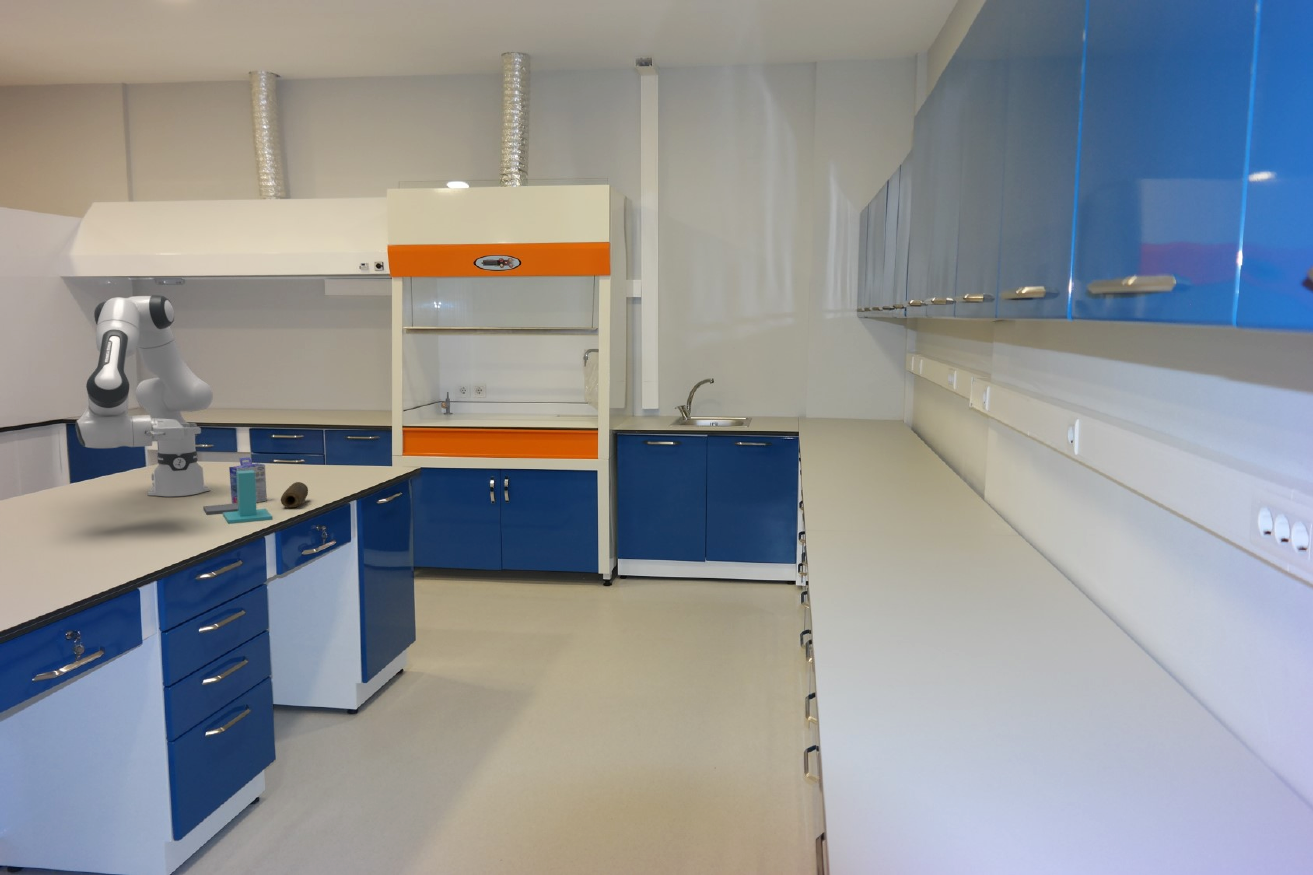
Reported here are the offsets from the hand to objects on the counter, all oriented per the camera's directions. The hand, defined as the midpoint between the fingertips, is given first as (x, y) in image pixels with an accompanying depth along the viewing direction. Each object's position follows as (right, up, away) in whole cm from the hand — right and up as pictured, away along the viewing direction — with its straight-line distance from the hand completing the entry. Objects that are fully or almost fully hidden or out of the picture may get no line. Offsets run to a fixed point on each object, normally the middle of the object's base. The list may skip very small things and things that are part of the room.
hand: (198, 428), depth 262 cm
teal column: (+10, -26, +10) cm, 29 cm away
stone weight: (+16, -25, +30) cm, 42 cm away
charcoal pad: (-1, -25, +20) cm, 32 cm away
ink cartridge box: (0, -24, +32) cm, 40 cm away
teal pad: (+10, -27, +10) cm, 30 cm away
